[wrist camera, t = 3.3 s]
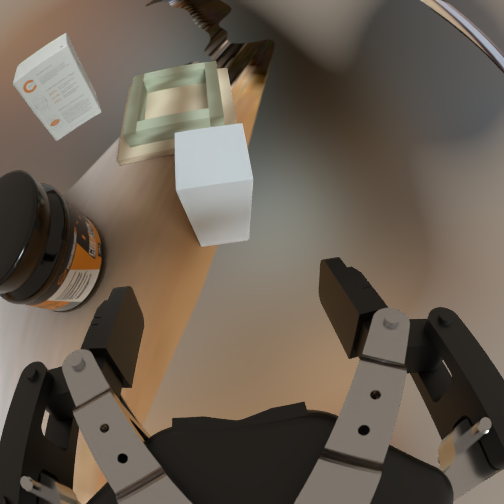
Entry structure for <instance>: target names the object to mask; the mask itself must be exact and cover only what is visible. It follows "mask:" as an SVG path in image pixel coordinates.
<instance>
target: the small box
mask: <svg viewBox="0 0 504 504" xmlns="http://www.w3.org/2000/svg"><path fill="white" fill-rule="evenodd" d="M13 85H14V86H15V87H16V89H17V90H18V92H19V93H20V94H21V96H22V97H23V99H24V100H25V101H26V103H27V104H28V105H29V107H30V108H31V109H32V110H33V112H34V113H35V115H36V116H37V117H38V119H39V120H40V121H41V122H42V123H43V125H44V126H45V128H46V129H47V130H48V131H49V132H50V134H51V135H52V136H53V138H54V139H55V140H56V141H58V140H59V139H61V138H62V137H64V136H65V135H67V134H68V133H69V132H71V131H72V130H74V129H75V128H77V127H78V126H80V125H82V124H83V123H85V122H86V121H88V120H89V119H91V118H93V117H94V116H96V115H98V114H99V113H101V108H100V105H99V102H98V99H97V95H96V92H95V90H94V88H93V86H92V84H91V82H90V80H89V78H88V76H87V74H86V72H85V70H84V68H83V66H82V64H81V62H80V60H79V58H78V56H77V54H76V52H75V50H74V48H73V46H72V44H71V41H70V39H69V37H68V35H67V33H65V34H63V35H61V36H60V37H58V38H57V39H55V40H53V41H52V42H50V43H49V44H47V45H46V46H44V47H43V48H41V49H40V50H38V51H37V52H35V53H34V54H33V55H31V56H30V57H28V58H27V59H26V60H25V61H23V62H22V63H21V64H19V65H18V67H17V70H16V74H15V78H14V82H13Z"/></svg>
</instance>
